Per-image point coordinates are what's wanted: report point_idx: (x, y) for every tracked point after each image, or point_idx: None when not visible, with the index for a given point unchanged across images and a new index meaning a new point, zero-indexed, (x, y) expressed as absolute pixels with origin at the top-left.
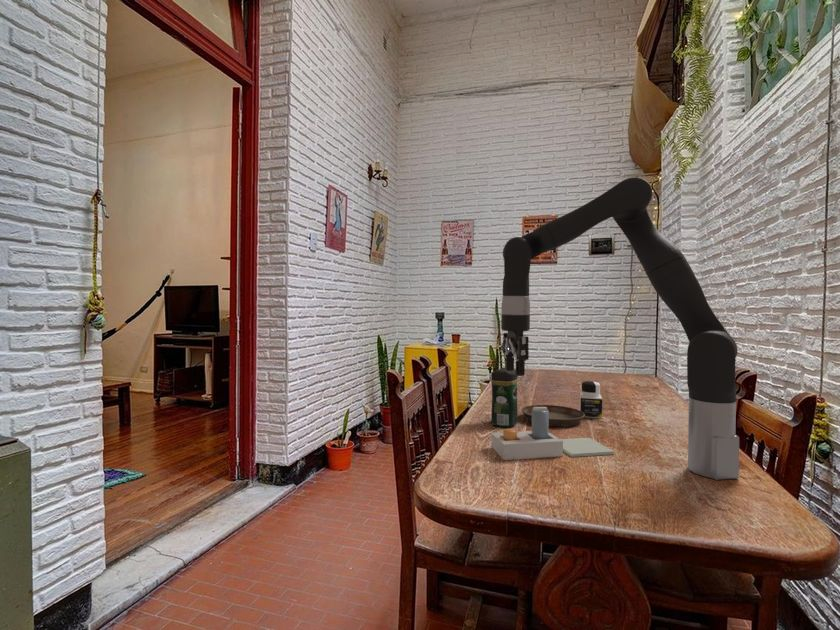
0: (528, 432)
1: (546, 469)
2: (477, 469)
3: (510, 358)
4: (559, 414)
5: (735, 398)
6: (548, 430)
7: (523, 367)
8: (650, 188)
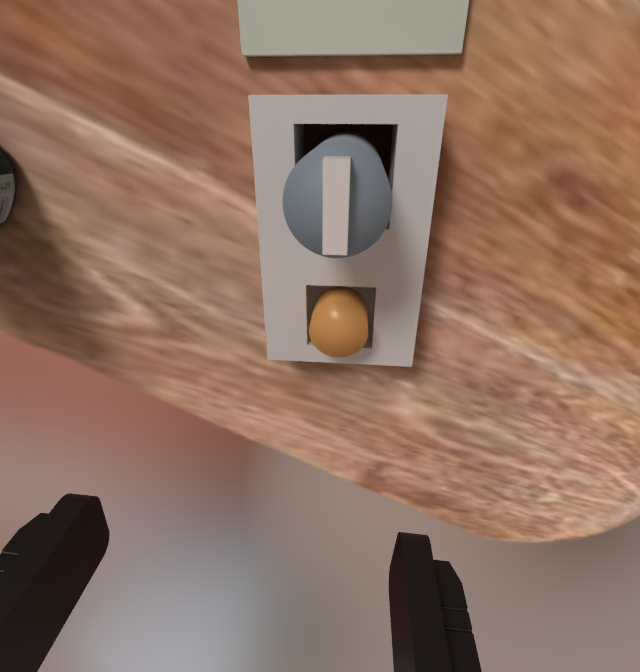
0: (278, 209)
1: (535, 240)
2: (452, 426)
3: (9, 664)
4: None
5: None
6: (368, 145)
7: (474, 646)
8: None
